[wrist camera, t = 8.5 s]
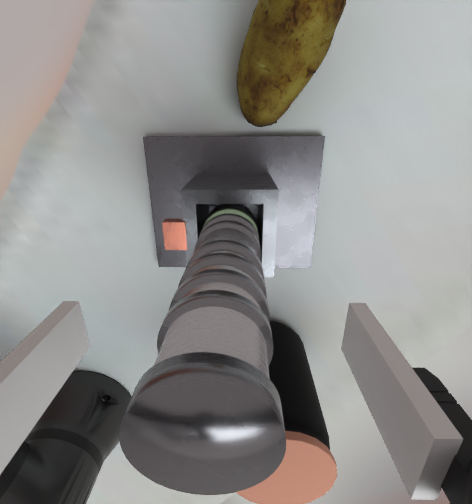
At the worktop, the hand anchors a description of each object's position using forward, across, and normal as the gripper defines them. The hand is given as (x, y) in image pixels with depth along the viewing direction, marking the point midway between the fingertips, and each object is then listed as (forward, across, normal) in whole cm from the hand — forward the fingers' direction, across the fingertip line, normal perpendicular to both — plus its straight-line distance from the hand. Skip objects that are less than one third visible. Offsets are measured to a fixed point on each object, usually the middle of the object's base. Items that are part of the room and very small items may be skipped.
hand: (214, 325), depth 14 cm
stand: (+23, 0, 0) cm, 24 cm away
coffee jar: (+24, +6, -22) cm, 33 cm away
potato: (+23, +5, +16) cm, 29 cm away
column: (+16, 0, 0) cm, 16 cm away
